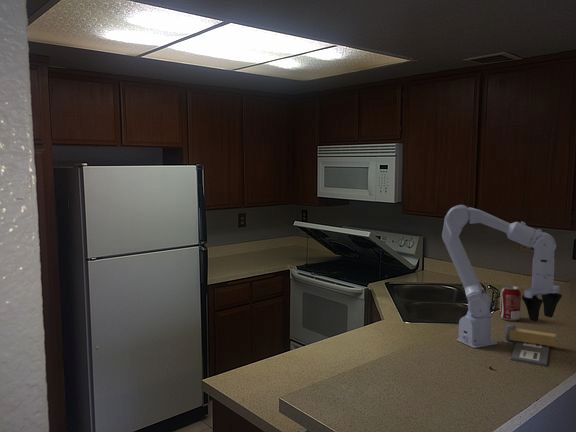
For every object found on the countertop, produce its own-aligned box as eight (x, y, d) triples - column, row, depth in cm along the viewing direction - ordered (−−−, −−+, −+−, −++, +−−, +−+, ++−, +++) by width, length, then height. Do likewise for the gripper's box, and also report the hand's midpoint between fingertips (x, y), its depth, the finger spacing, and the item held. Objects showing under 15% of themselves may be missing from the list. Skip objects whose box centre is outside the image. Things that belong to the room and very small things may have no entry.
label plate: (546, 366, 132) (546, 363, 132) (495, 357, 138) (495, 354, 138) (550, 343, 151) (550, 340, 151) (505, 336, 157) (505, 333, 157)
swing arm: (504, 340, 151) (505, 326, 151) (505, 337, 154) (506, 323, 154) (554, 348, 144) (555, 333, 144) (555, 345, 147) (555, 330, 147)
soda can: (523, 321, 173) (524, 289, 172) (504, 321, 173) (505, 289, 172) (514, 316, 180) (515, 285, 179) (496, 316, 180) (497, 285, 179)
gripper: (541, 278, 135) (539, 325, 136) (570, 273, 142) (568, 318, 143) (518, 274, 141) (516, 319, 142) (547, 269, 148) (545, 312, 149)
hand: (541, 318), depth 143 cm, fingers open, 7 cm apart
